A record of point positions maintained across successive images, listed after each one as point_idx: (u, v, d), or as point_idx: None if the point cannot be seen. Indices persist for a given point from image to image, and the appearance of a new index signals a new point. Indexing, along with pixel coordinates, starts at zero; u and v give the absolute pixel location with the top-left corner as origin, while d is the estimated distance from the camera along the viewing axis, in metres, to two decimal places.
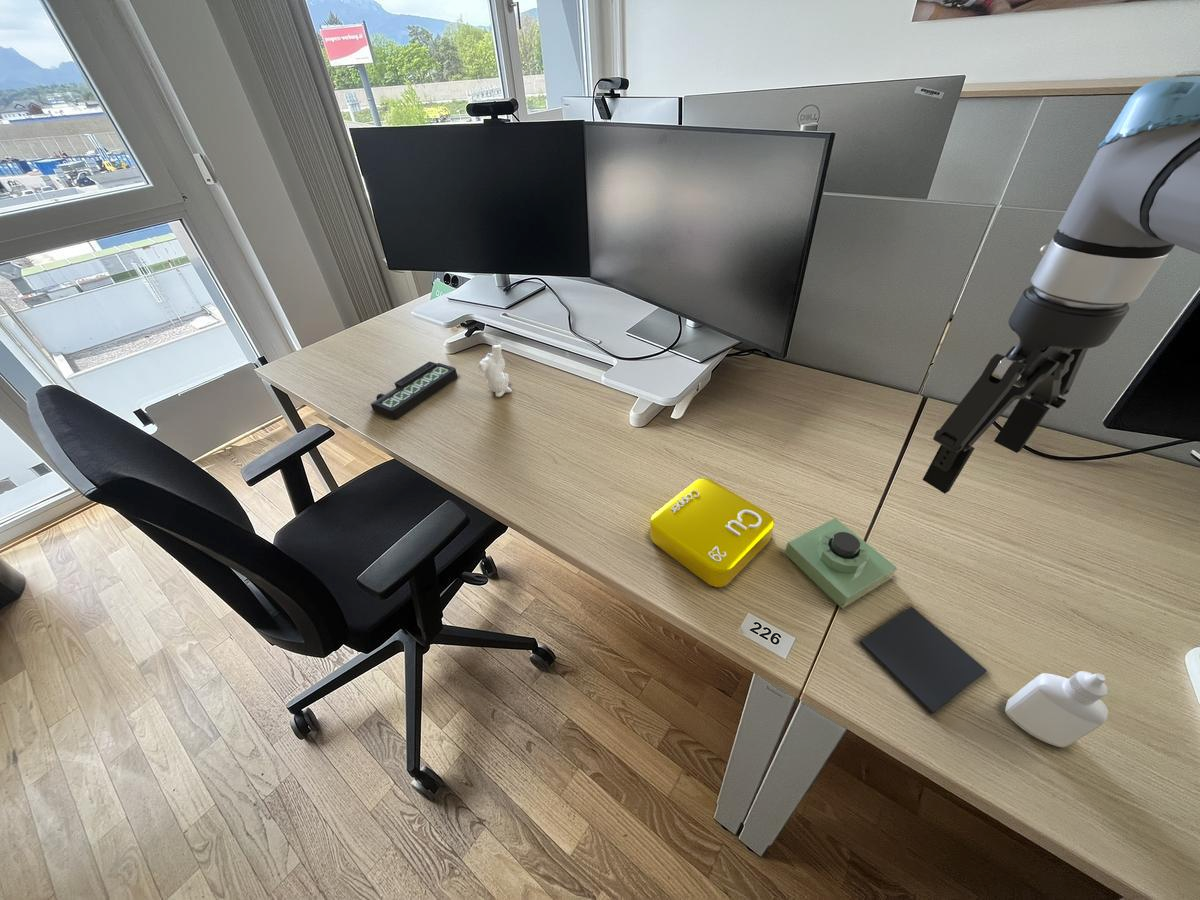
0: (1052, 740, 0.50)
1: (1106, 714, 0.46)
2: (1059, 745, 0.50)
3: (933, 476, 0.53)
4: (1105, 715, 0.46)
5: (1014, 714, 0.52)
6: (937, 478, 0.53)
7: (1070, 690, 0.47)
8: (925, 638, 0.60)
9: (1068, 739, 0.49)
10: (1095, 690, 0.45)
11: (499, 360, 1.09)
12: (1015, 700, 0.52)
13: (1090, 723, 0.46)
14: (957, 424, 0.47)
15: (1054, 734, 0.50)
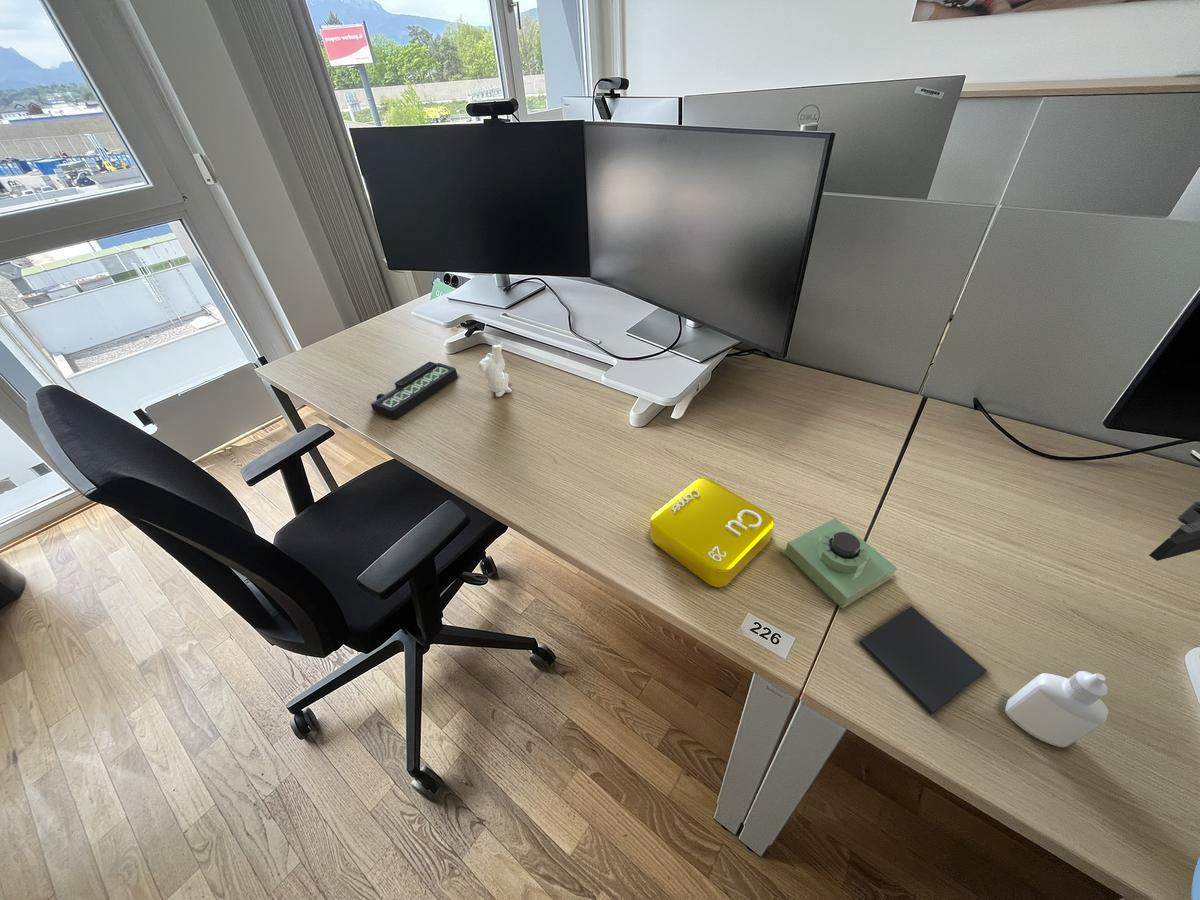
0: (1052, 740, 0.50)
1: (1106, 714, 0.46)
2: (1059, 745, 0.50)
3: None
4: (1105, 715, 0.46)
5: (1014, 714, 0.52)
6: None
7: (1070, 690, 0.47)
8: (925, 638, 0.60)
9: (1068, 739, 0.49)
10: (1095, 690, 0.45)
11: (499, 360, 1.09)
12: (1015, 700, 0.52)
13: (1090, 723, 0.46)
14: None
15: (1054, 734, 0.50)
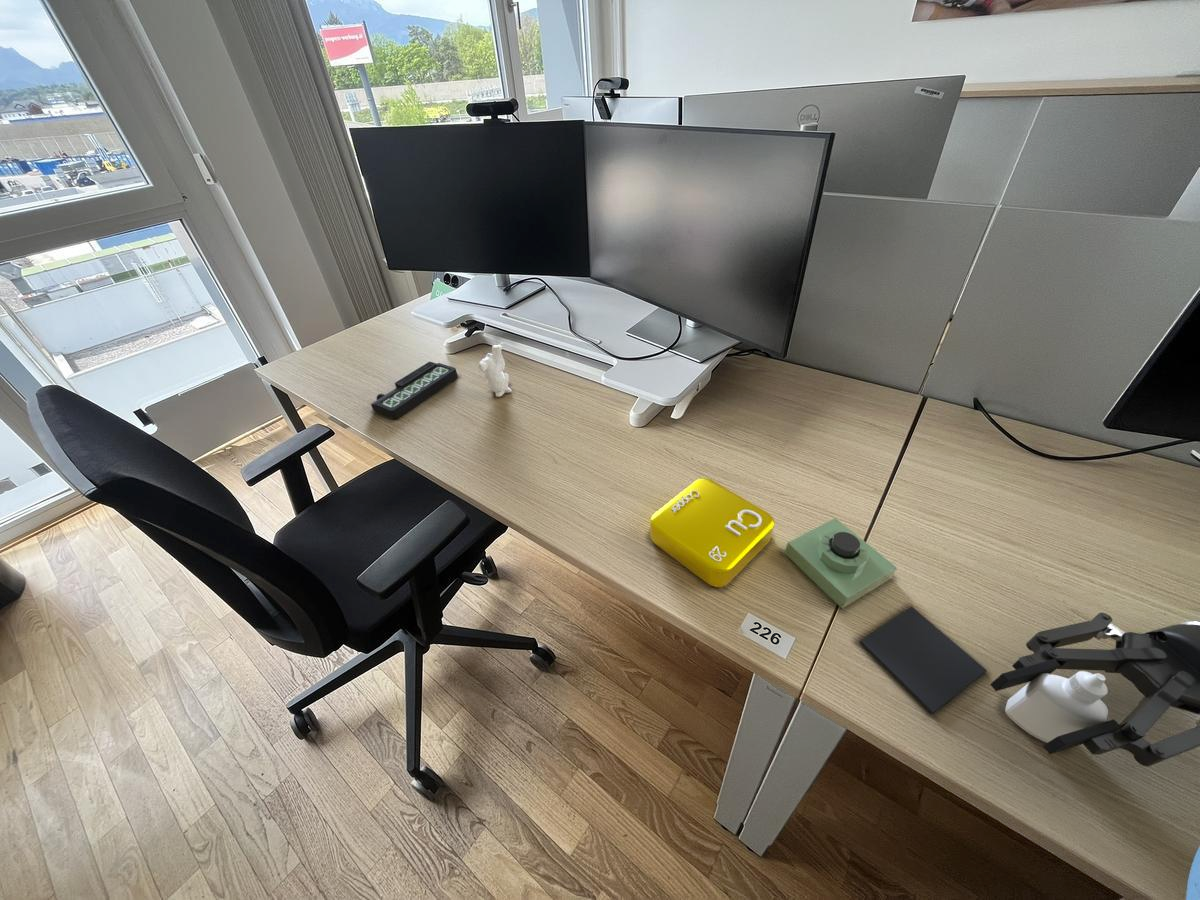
0: None
1: (1106, 714, 0.46)
2: None
3: None
4: (1105, 715, 0.46)
5: (1014, 714, 0.52)
6: None
7: (1070, 690, 0.47)
8: (925, 638, 0.60)
9: None
10: (1095, 690, 0.45)
11: (499, 360, 1.09)
12: (1015, 700, 0.52)
13: (1090, 723, 0.46)
14: None
15: (1054, 734, 0.50)
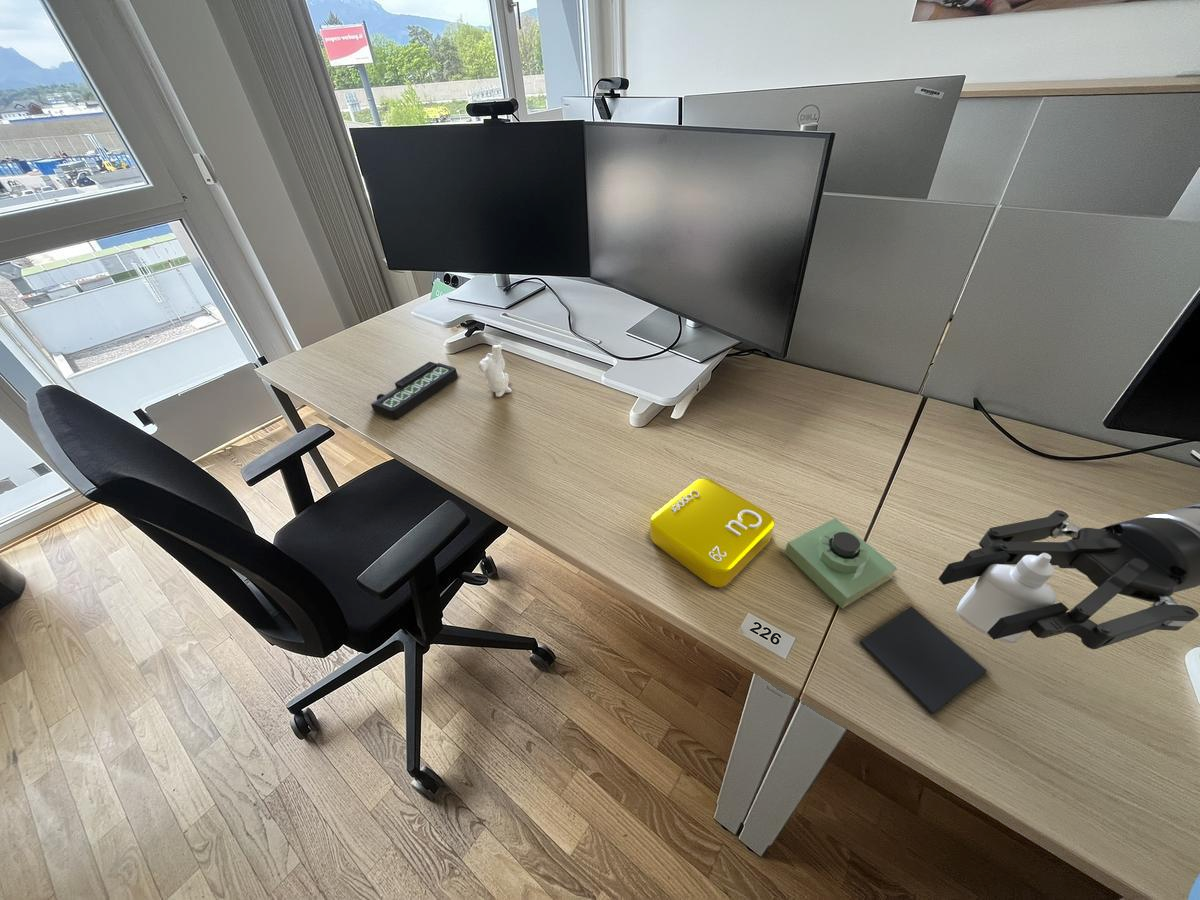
0: None
1: (1054, 598, 0.44)
2: (1009, 640, 0.48)
3: None
4: (1052, 599, 0.44)
5: (964, 612, 0.50)
6: None
7: (1017, 575, 0.45)
8: (925, 638, 0.60)
9: None
10: (1041, 570, 0.43)
11: (499, 360, 1.09)
12: (965, 597, 0.50)
13: None
14: None
15: None
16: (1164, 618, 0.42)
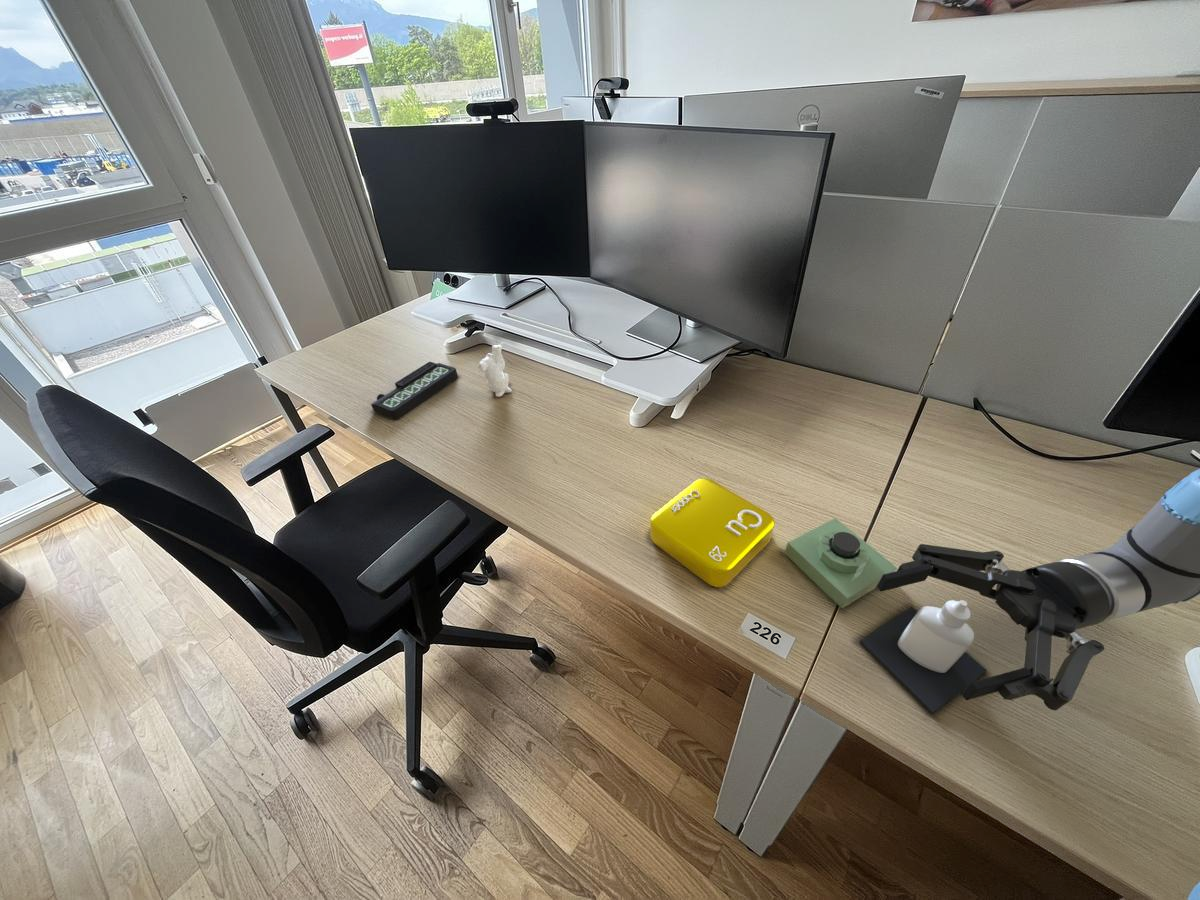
0: (933, 666, 0.56)
1: (971, 637, 0.52)
2: (939, 671, 0.56)
3: None
4: (970, 638, 0.52)
5: (903, 646, 0.58)
6: None
7: (941, 617, 0.53)
8: None
9: (945, 664, 0.55)
10: (959, 615, 0.51)
11: (499, 360, 1.09)
12: (904, 632, 0.58)
13: (958, 646, 0.53)
14: None
15: (933, 660, 0.56)
16: (1088, 661, 0.49)
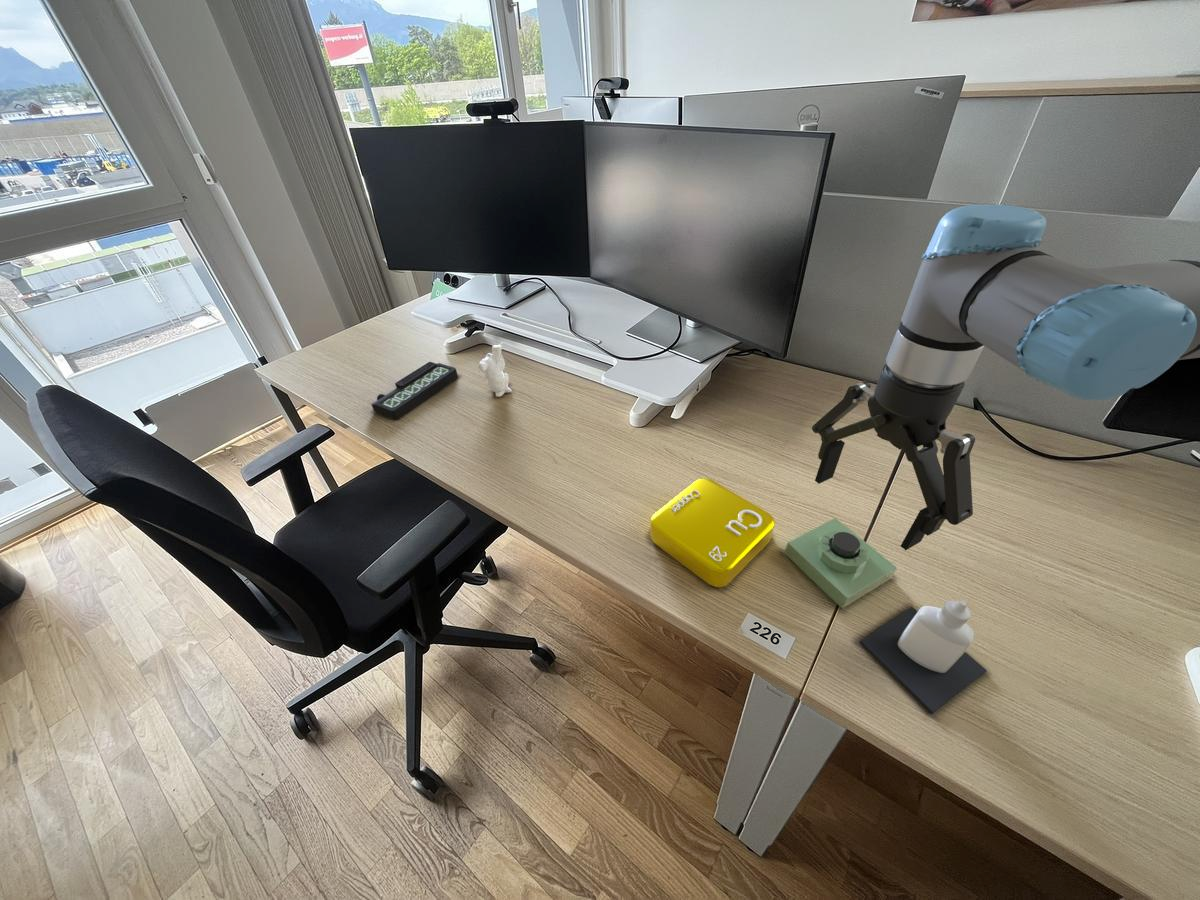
0: (933, 666, 0.56)
1: (971, 637, 0.52)
2: (939, 671, 0.56)
3: None
4: (970, 638, 0.52)
5: (903, 646, 0.58)
6: None
7: (941, 617, 0.53)
8: None
9: (945, 664, 0.55)
10: (959, 615, 0.51)
11: (499, 360, 1.09)
12: (904, 632, 0.58)
13: (958, 646, 0.53)
14: None
15: (933, 660, 0.56)
16: (954, 470, 0.48)
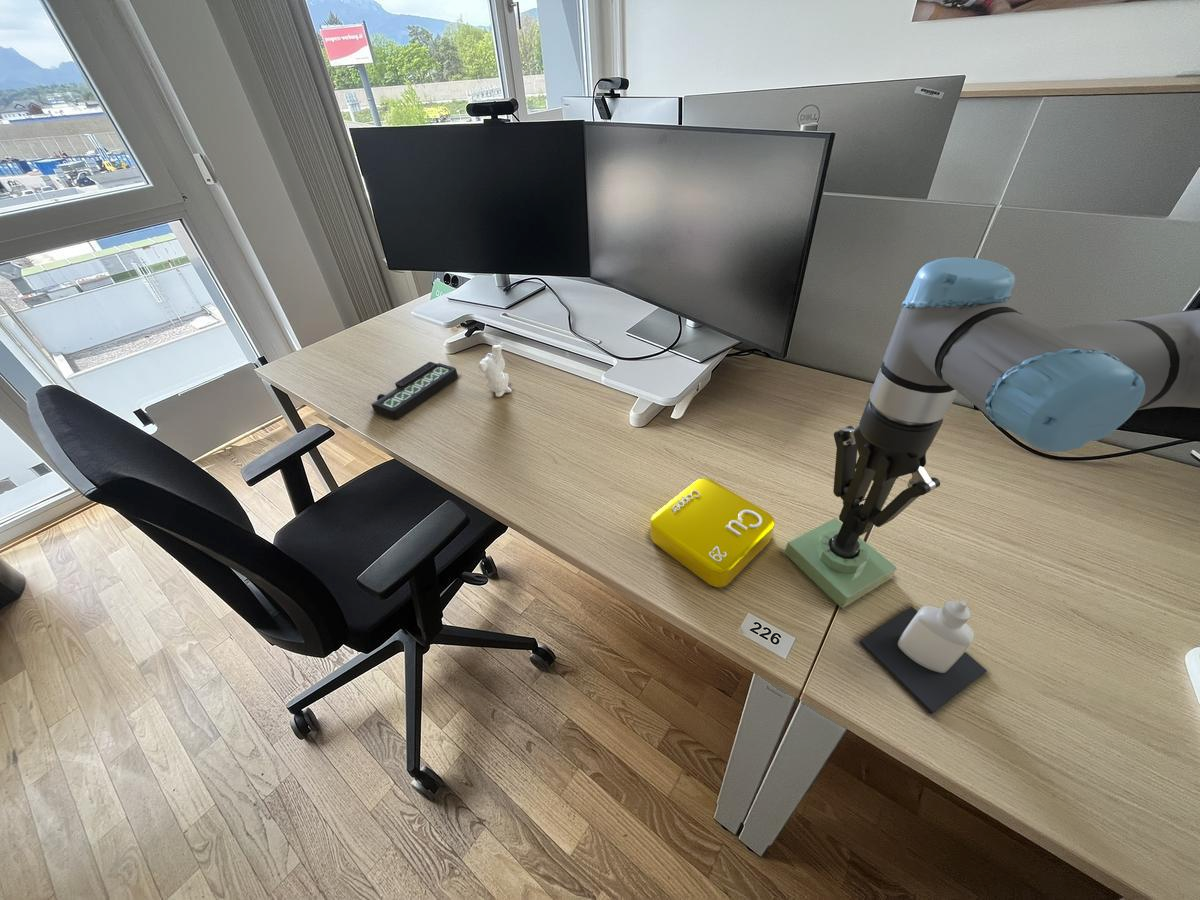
0: (933, 666, 0.56)
1: (971, 637, 0.52)
2: (939, 671, 0.56)
3: None
4: (970, 638, 0.52)
5: (903, 646, 0.58)
6: None
7: (941, 617, 0.53)
8: None
9: (945, 664, 0.55)
10: (959, 615, 0.51)
11: (499, 360, 1.09)
12: (904, 632, 0.58)
13: (958, 646, 0.53)
14: None
15: (933, 660, 0.56)
16: (906, 502, 0.54)
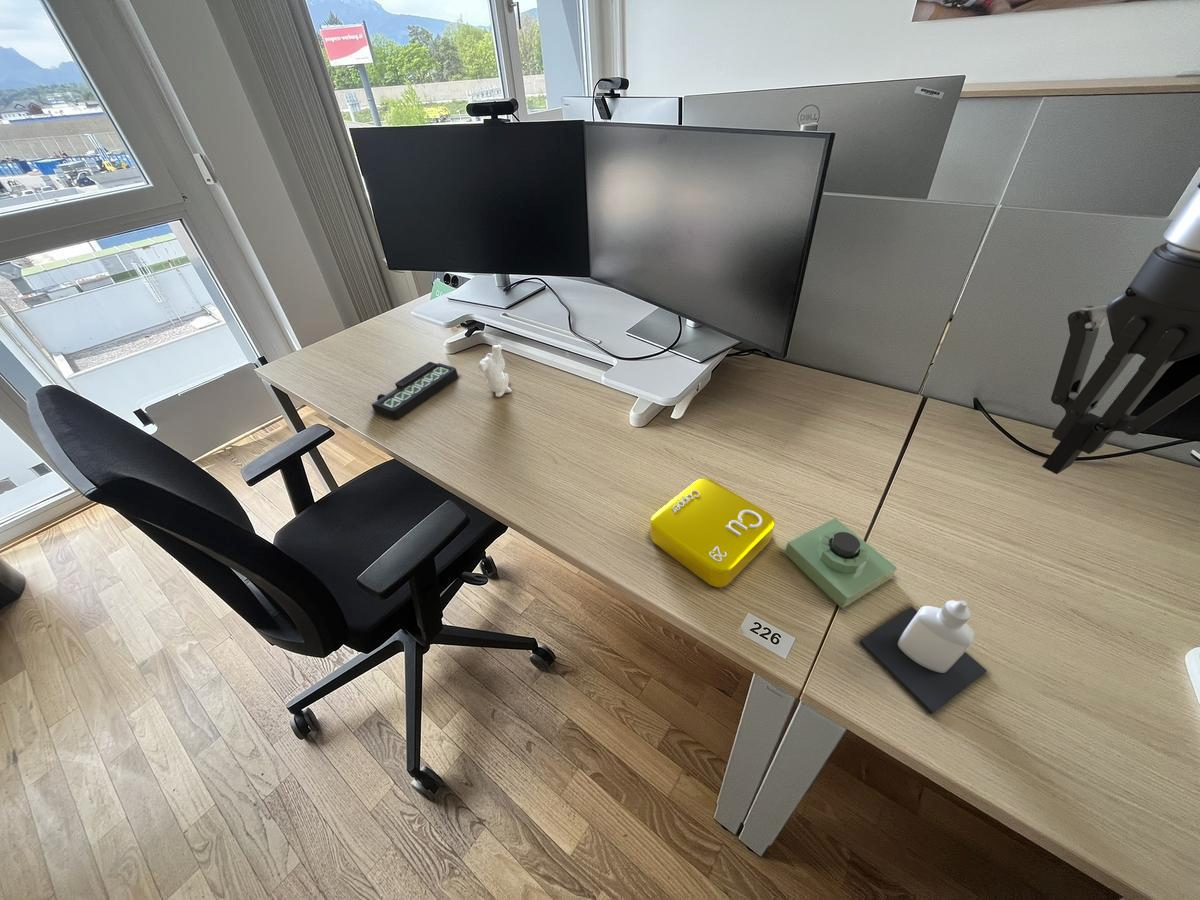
0: (933, 666, 0.56)
1: (971, 637, 0.52)
2: (939, 671, 0.56)
3: None
4: (970, 638, 0.52)
5: (903, 646, 0.58)
6: None
7: (941, 617, 0.53)
8: None
9: (945, 664, 0.55)
10: (959, 615, 0.51)
11: (499, 360, 1.09)
12: (904, 632, 0.58)
13: (958, 646, 0.53)
14: None
15: (933, 660, 0.56)
16: None
